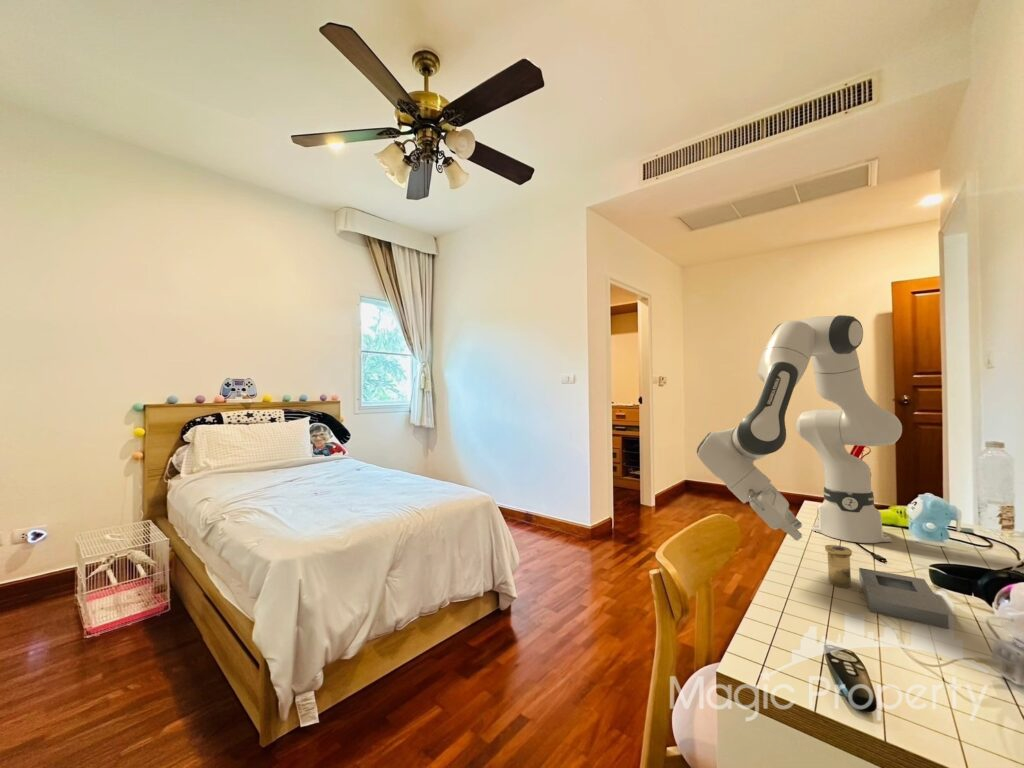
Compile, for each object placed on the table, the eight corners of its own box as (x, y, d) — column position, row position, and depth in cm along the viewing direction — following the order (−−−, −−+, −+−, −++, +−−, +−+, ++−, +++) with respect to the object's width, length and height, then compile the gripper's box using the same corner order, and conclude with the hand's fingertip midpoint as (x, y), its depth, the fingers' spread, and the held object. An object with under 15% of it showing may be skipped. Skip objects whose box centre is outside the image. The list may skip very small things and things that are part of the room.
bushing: (826, 577, 97) (824, 543, 97) (852, 582, 94) (850, 547, 95) (827, 585, 93) (825, 549, 93) (854, 590, 90) (852, 553, 91)
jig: (859, 578, 96) (859, 567, 96) (924, 590, 90) (924, 579, 90) (869, 611, 82) (869, 598, 82) (948, 628, 75) (948, 615, 75)
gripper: (757, 486, 95) (811, 537, 89) (764, 472, 111) (810, 514, 105) (736, 503, 97) (787, 553, 91) (746, 487, 114) (790, 529, 108)
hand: (799, 532), depth 98 cm, fingers open, 8 cm apart
